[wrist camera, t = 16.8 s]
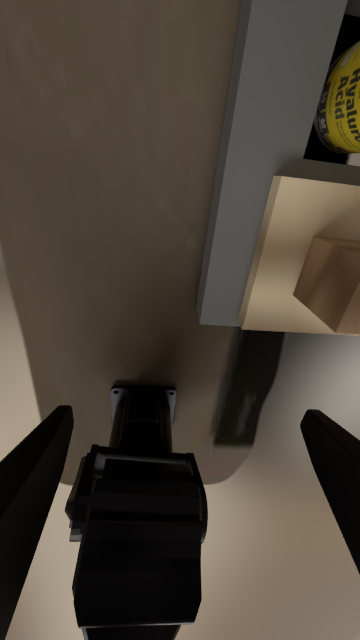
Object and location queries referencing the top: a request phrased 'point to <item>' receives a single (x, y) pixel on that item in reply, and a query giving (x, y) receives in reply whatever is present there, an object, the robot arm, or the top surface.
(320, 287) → the lid
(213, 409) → the top surface
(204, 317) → the board
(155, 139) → the top surface
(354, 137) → the supplement bottle
